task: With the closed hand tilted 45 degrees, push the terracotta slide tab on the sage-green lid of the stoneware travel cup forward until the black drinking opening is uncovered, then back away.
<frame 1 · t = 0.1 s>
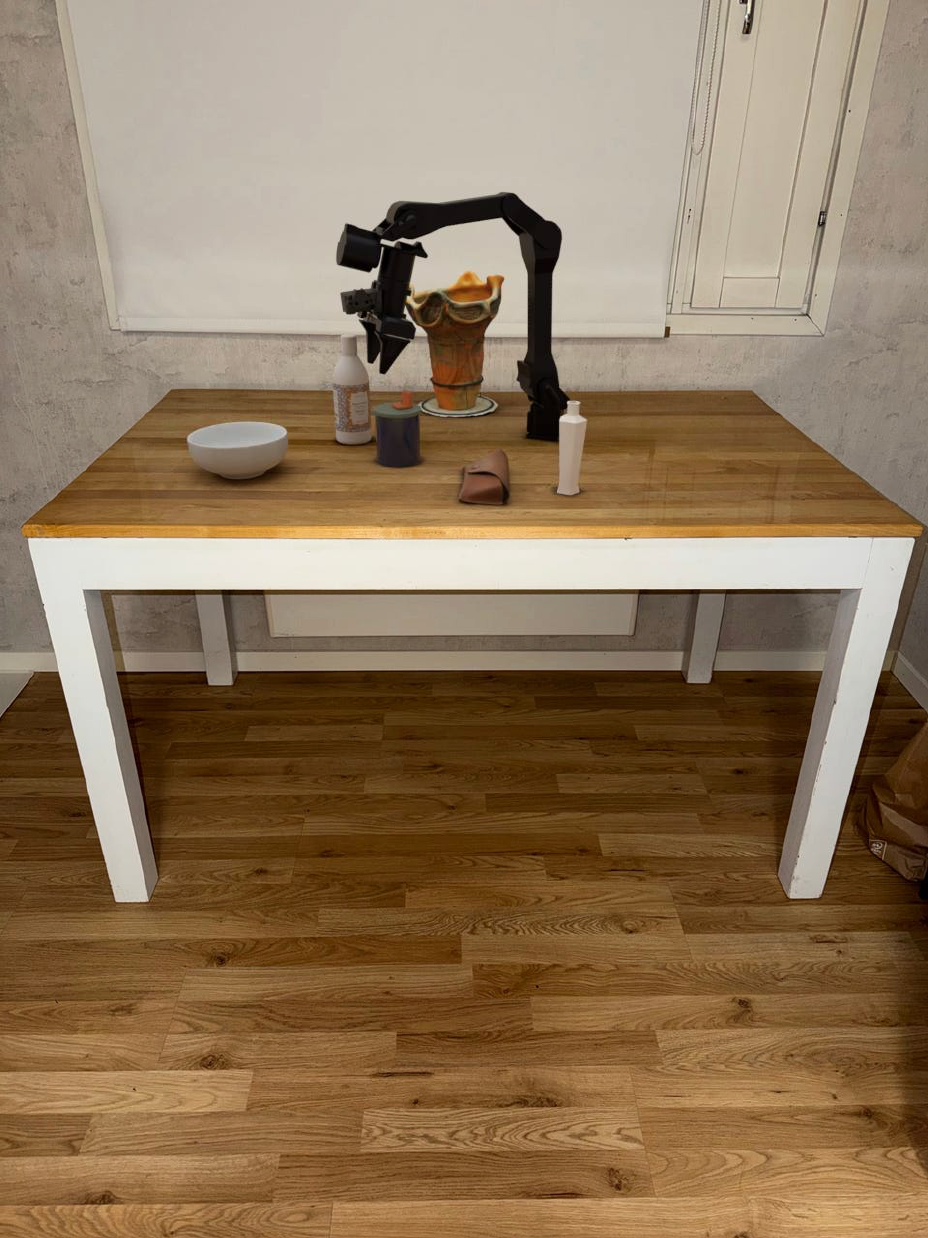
hand: (376, 368, 157), 15 cm above the table, tool pointing down, fingers open, 9 cm apart
white tall faceted bottle: (568, 492, 145), on the table
slider: (401, 399, 154), point 11 cm above the table, slide at 0.0 cm
cereal bowl: (242, 473, 152), on the table
travel cup: (398, 460, 159), on the table
bath foam: (354, 441, 170), on the table
decorative vase: (455, 408, 193), on the table
sunglasses case: (484, 486, 147), on the table
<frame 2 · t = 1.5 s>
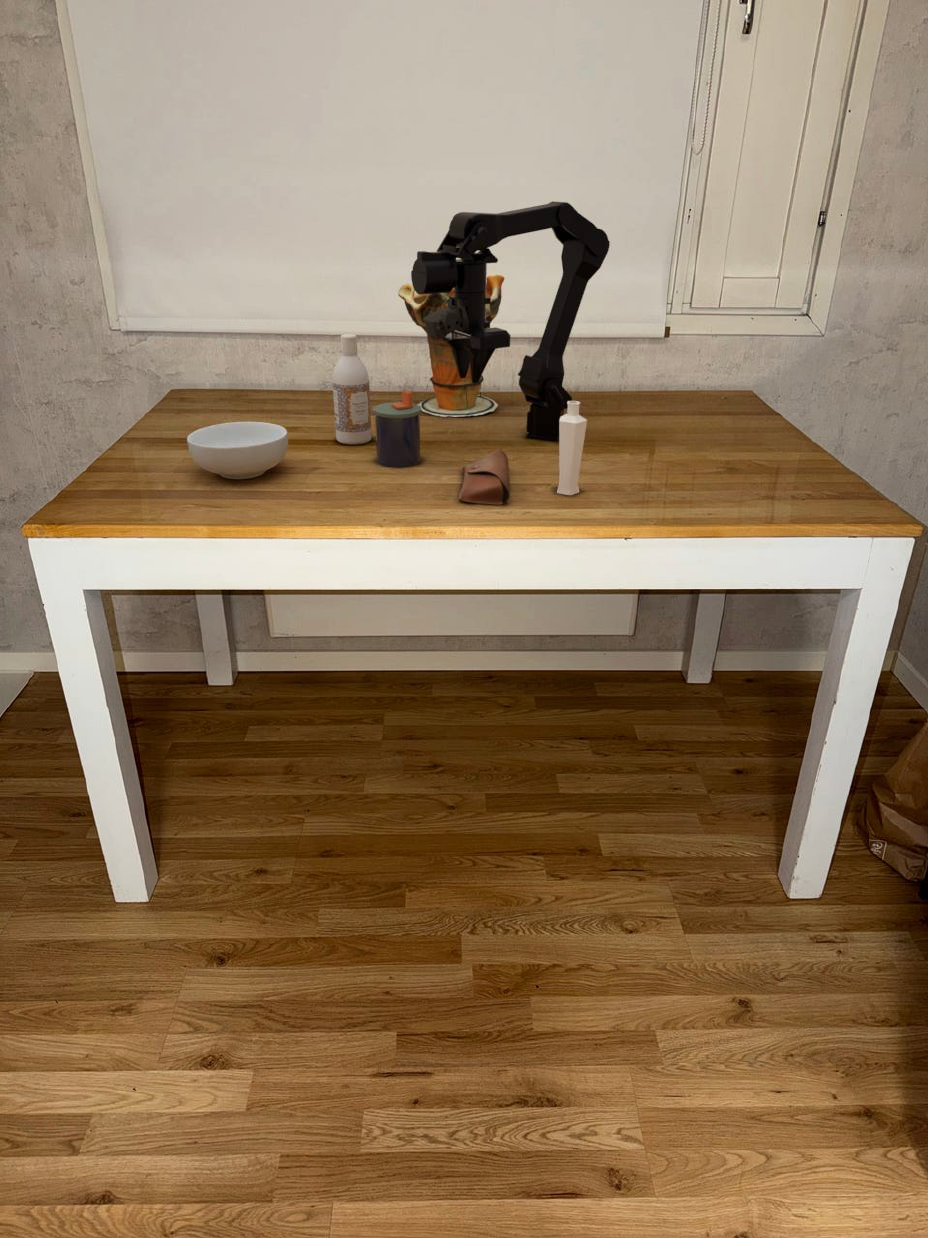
hand: (468, 380, 160), 13 cm above the table, tool pointing down, fingers open, 4 cm apart
nothing on the table moved.
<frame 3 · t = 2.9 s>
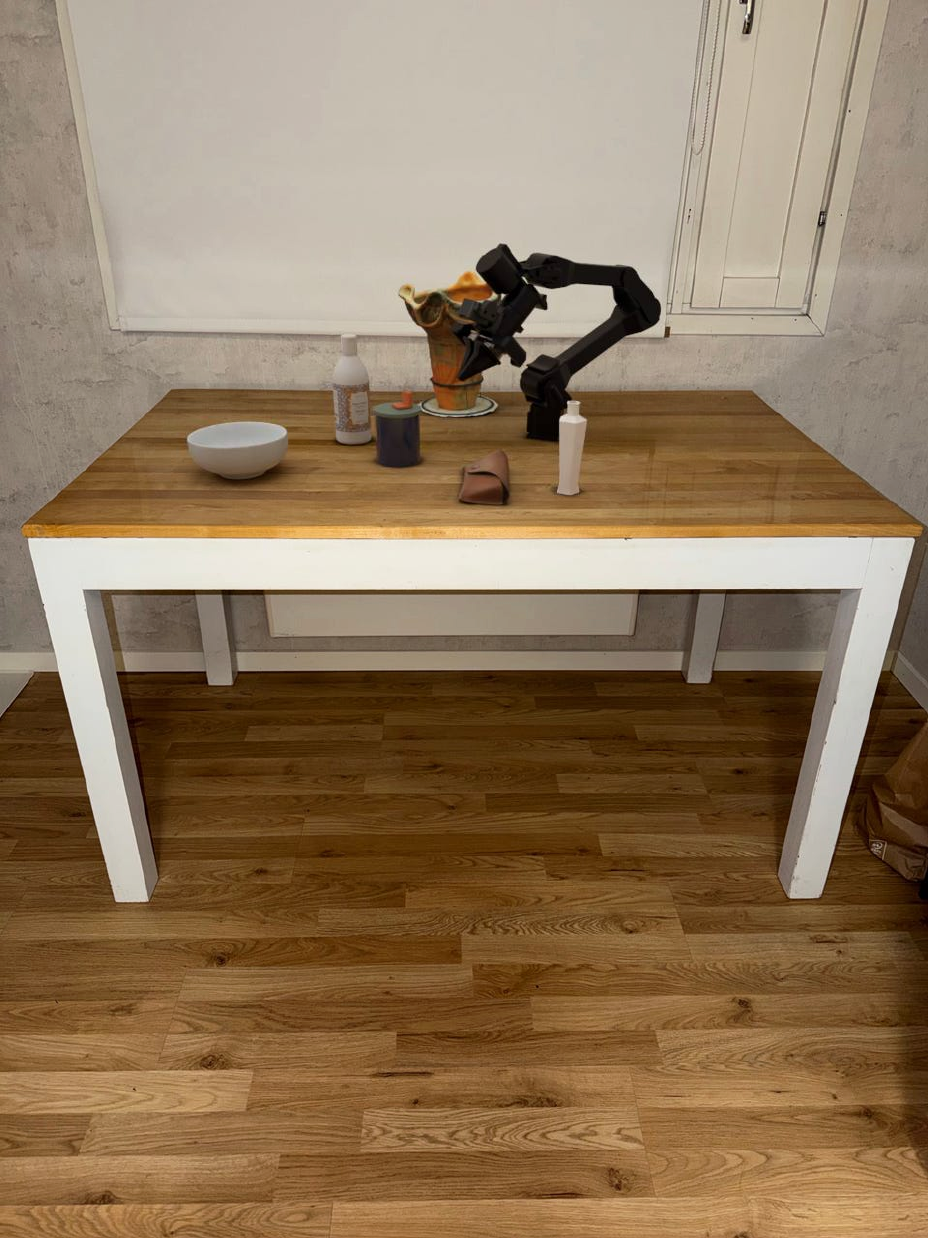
hand: (459, 379, 158), 13 cm above the table, tool tilted 45°, fingers closed
nothing on the table moved.
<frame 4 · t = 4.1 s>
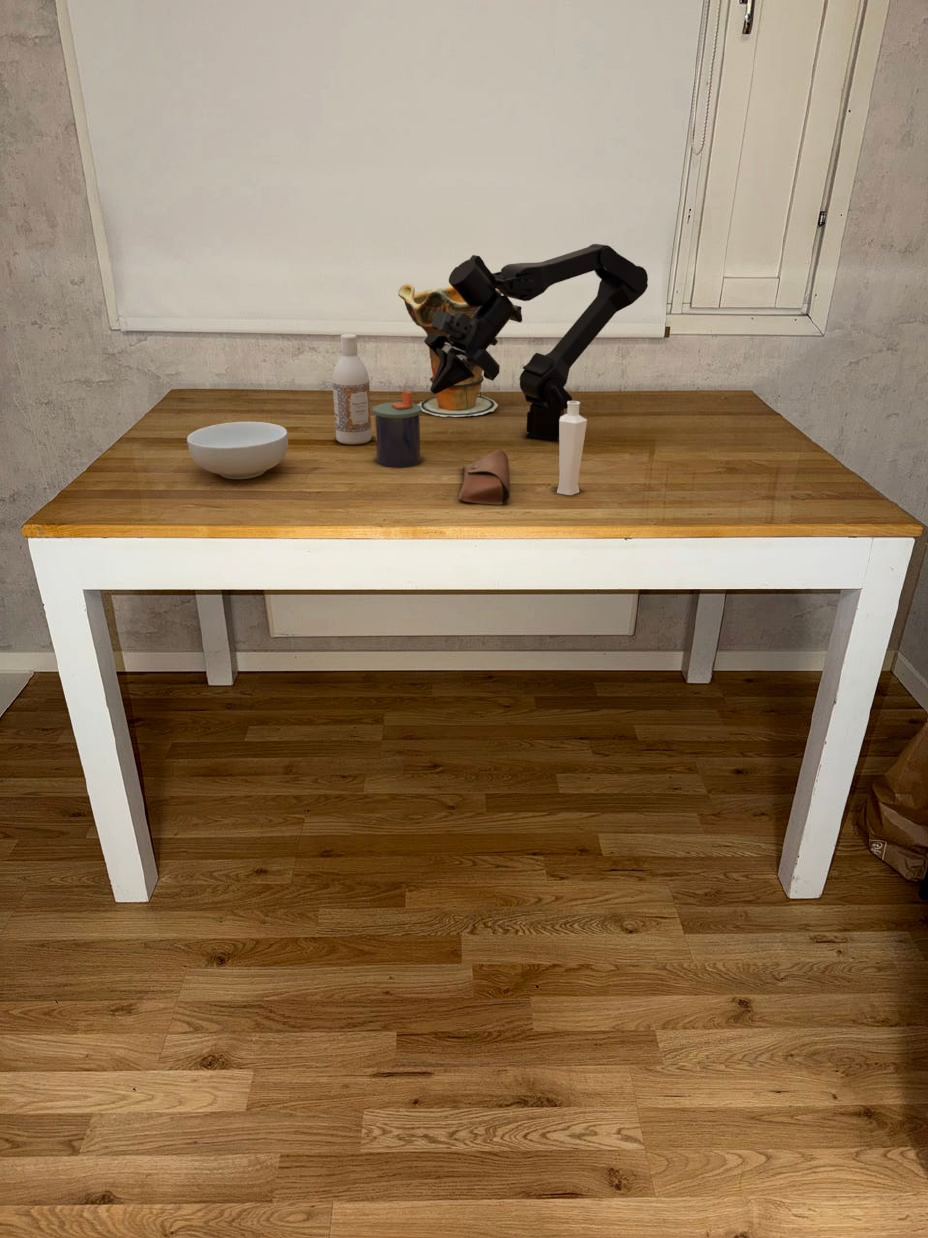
hand: (432, 392, 157), 12 cm above the table, tool tilted 45°, fingers closed
nothing on the table moved.
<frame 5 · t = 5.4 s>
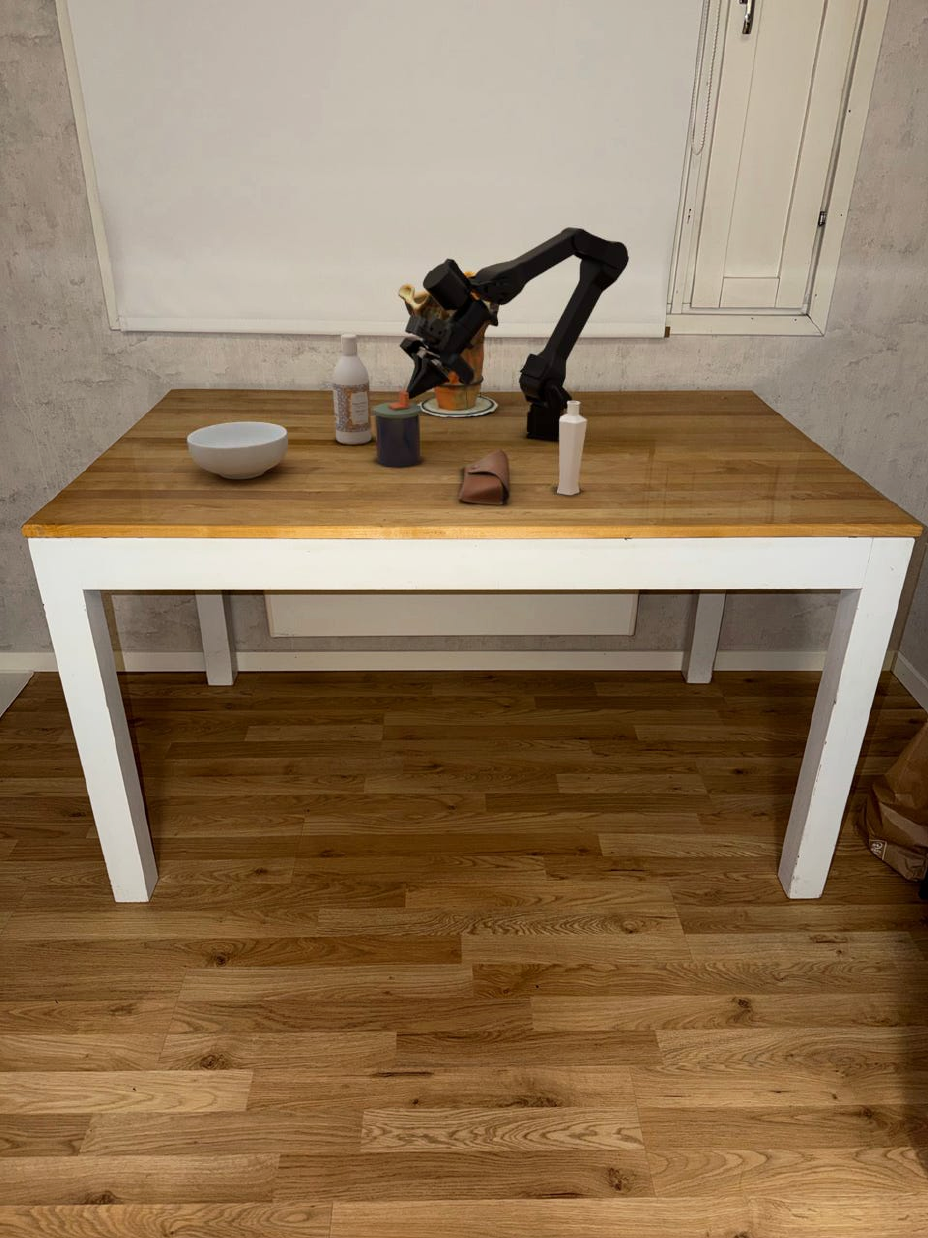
hand: (407, 397, 155), 11 cm above the table, tool tilted 45°, fingers closed, pressing on slider
slider: (398, 399, 154), point 11 cm above the table, slide at 0.7 cm, touching gripper
everything else where it was.
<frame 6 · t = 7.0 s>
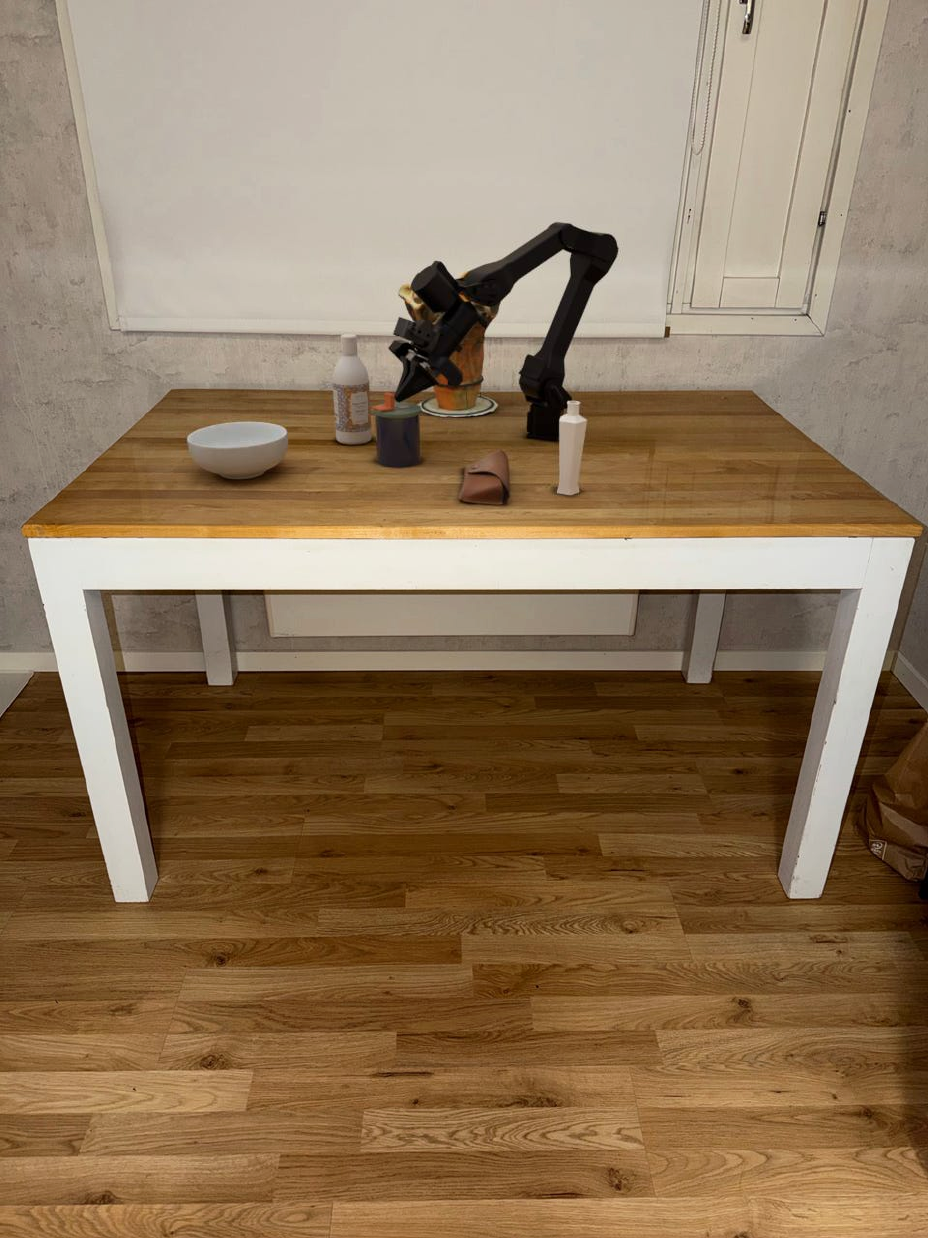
hand: (396, 400, 154), 11 cm above the table, tool tilted 45°, fingers closed
slider: (383, 401, 153), point 11 cm above the table, slide at 3.6 cm
everything else where it was.
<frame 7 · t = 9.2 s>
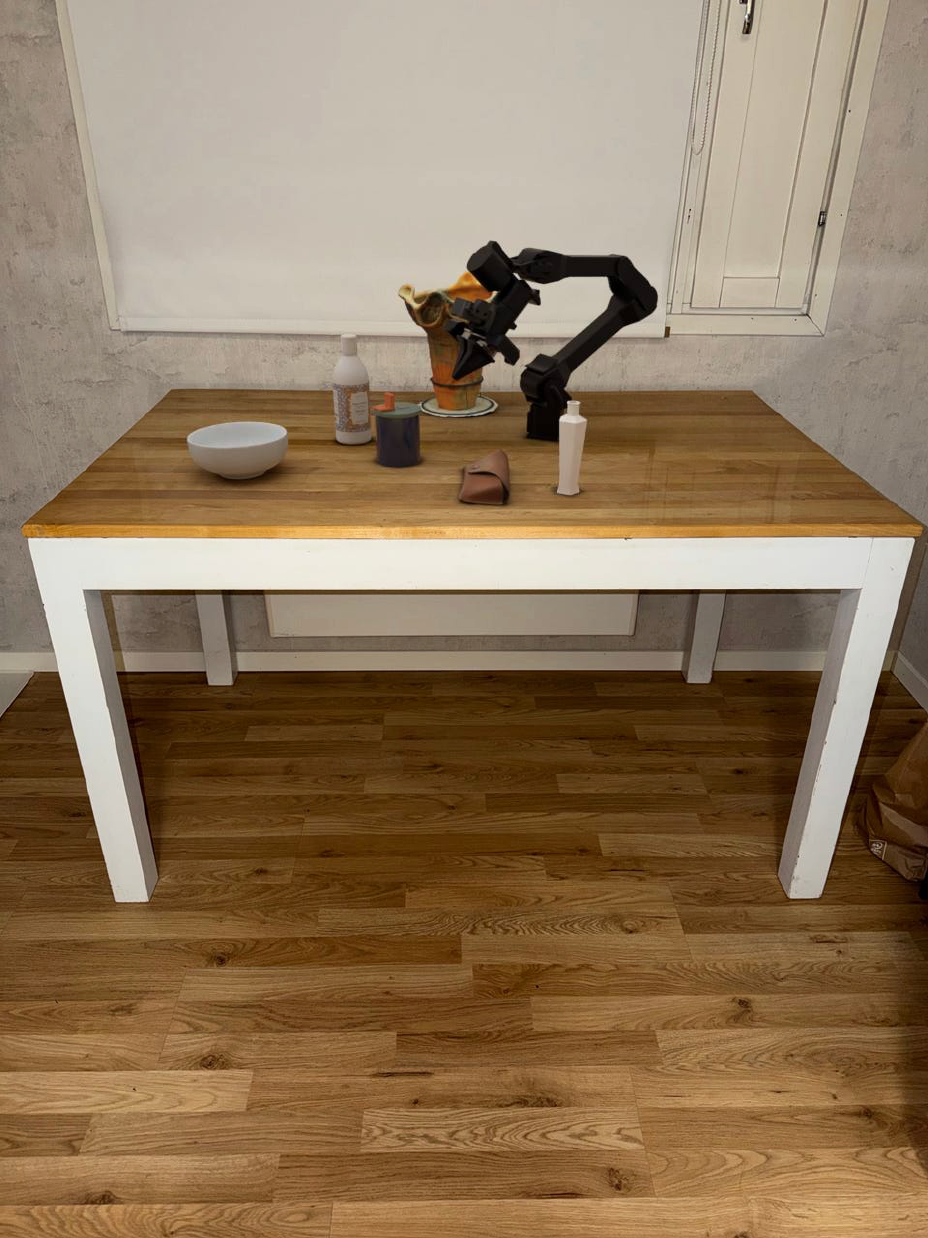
hand: (453, 378, 158), 14 cm above the table, tool tilted 45°, fingers closed
nothing on the table moved.
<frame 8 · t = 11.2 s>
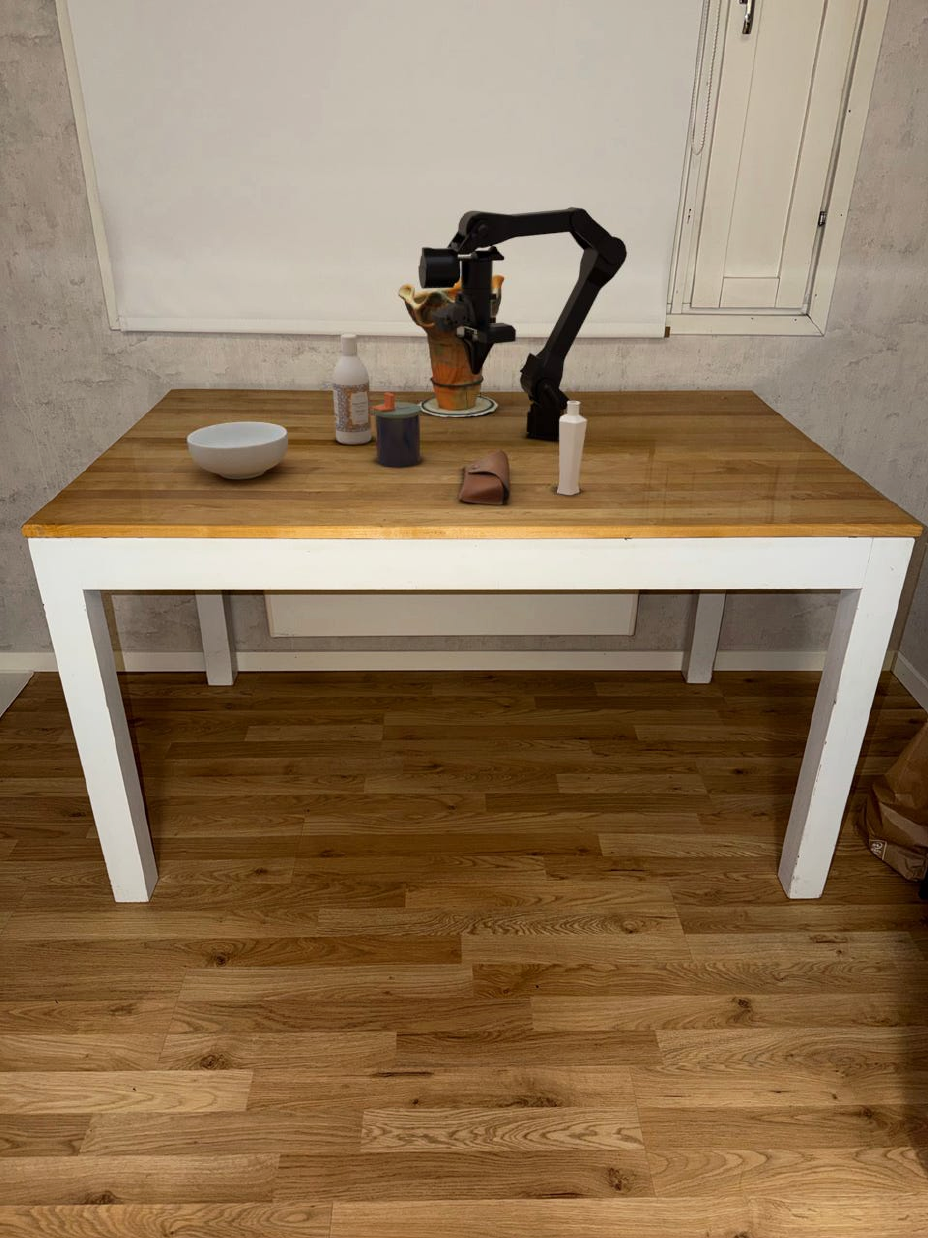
hand: (475, 374, 164), 13 cm above the table, tool pointing down, fingers closed
nothing on the table moved.
at the end: slider slide at 3.6 cm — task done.
